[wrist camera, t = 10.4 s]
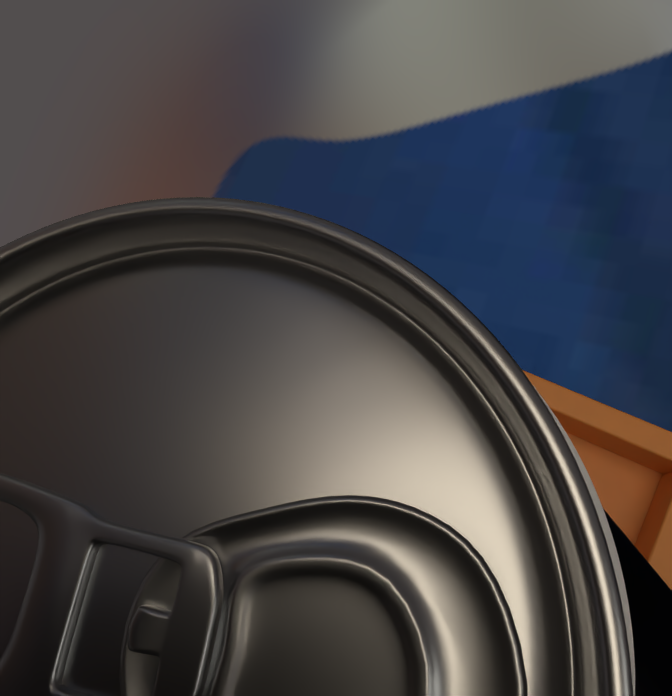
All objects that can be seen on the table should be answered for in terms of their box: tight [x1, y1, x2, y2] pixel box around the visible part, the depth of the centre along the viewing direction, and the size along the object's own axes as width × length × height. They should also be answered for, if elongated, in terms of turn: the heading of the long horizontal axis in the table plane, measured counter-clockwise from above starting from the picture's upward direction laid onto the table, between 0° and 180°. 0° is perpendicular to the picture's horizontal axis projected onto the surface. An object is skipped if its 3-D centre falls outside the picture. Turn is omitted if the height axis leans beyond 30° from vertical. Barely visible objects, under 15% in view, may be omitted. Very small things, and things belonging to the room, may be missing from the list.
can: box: [0, 197, 635, 696], centre depth 9 cm, size 6×6×12 cm
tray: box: [522, 370, 672, 590], centre depth 14 cm, size 11×11×2 cm
